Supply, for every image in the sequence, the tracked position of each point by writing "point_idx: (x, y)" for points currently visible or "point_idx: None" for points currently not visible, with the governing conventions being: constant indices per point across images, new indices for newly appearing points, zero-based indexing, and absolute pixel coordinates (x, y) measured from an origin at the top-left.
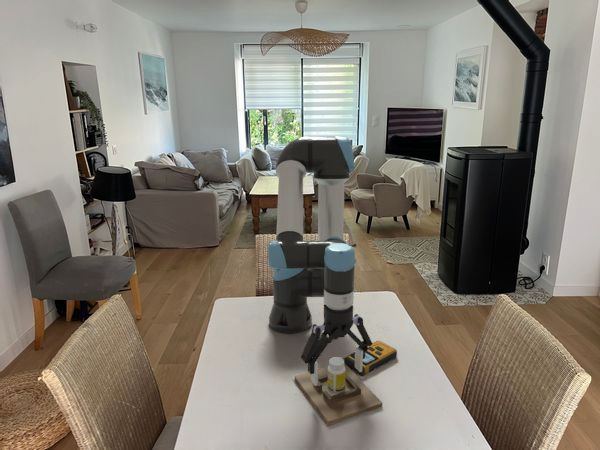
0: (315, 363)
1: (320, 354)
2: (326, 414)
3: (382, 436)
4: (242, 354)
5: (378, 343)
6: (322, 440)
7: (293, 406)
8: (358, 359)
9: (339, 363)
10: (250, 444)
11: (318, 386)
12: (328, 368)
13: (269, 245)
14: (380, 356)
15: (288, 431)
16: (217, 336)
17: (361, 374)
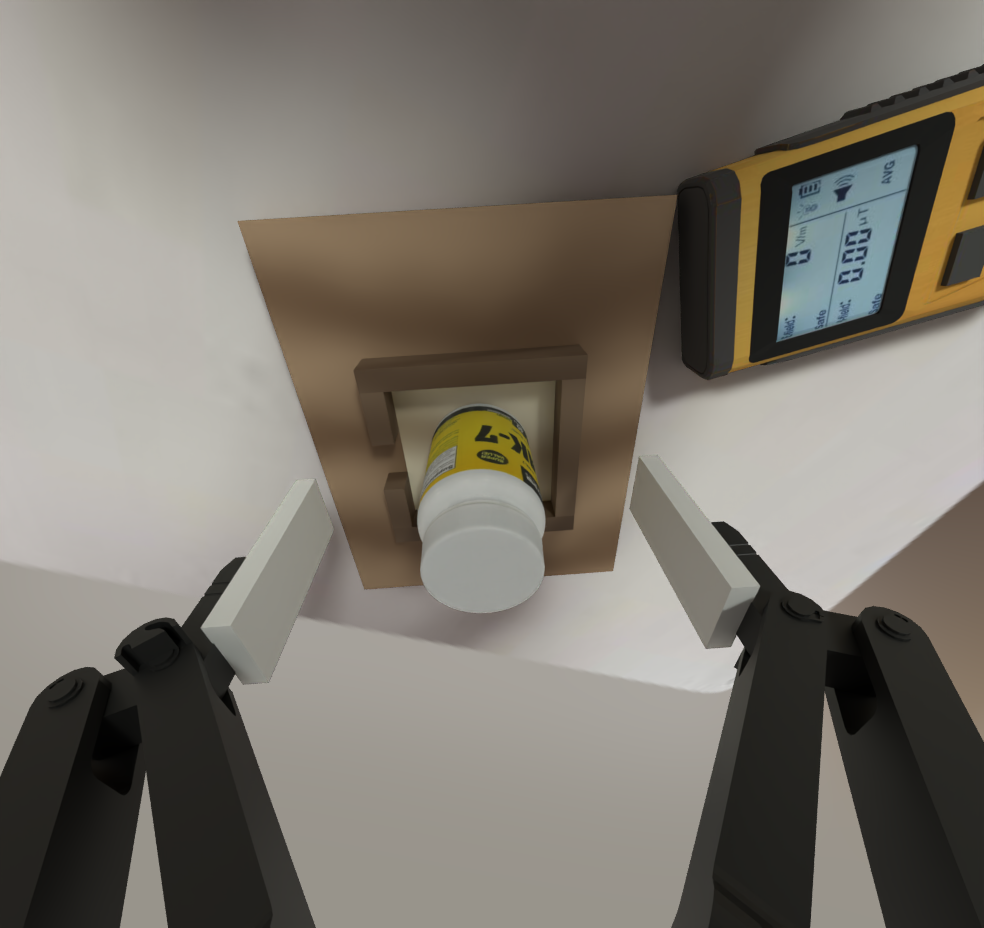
0: (245, 679)
1: (257, 774)
2: (369, 563)
3: (520, 639)
4: None
5: None
6: (332, 612)
7: (235, 452)
8: (668, 550)
9: (489, 600)
10: (54, 570)
11: (372, 441)
12: (420, 521)
13: None
14: (928, 306)
15: (209, 559)
16: None
17: (686, 360)
